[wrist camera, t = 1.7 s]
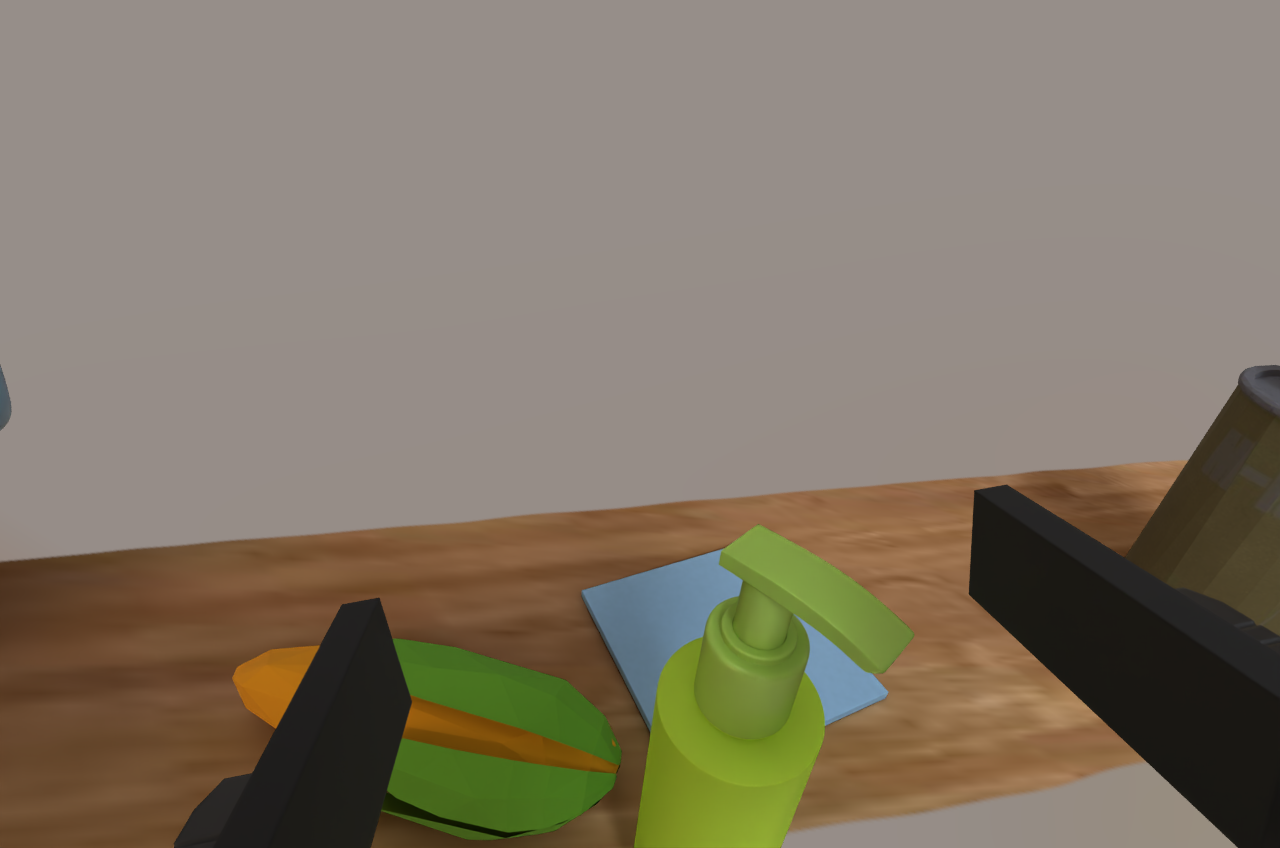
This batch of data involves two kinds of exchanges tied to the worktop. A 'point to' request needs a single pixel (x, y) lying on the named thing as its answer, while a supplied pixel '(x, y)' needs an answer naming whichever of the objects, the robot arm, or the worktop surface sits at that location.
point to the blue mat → (702, 633)
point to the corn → (472, 740)
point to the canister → (1226, 508)
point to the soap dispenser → (753, 699)
